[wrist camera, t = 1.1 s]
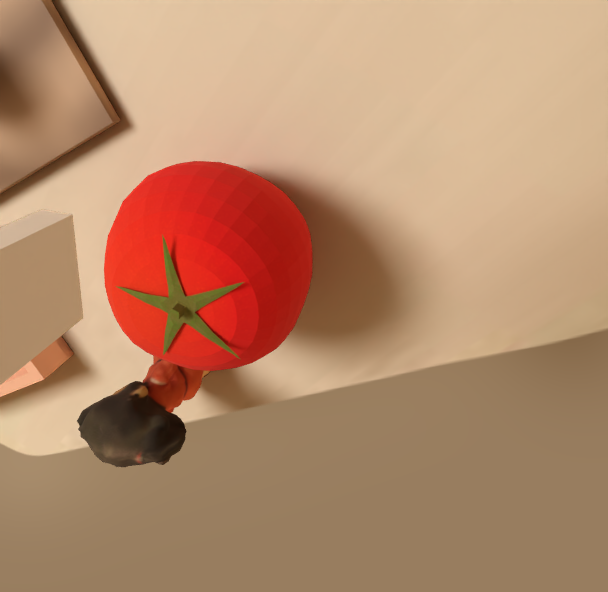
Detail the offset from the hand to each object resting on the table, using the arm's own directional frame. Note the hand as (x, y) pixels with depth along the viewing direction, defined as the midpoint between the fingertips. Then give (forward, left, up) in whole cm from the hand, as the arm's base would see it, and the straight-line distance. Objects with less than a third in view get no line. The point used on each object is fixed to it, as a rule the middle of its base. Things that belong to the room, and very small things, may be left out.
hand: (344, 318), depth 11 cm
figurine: (+8, -21, -24) cm, 33 cm away
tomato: (+1, -11, -24) cm, 26 cm away
